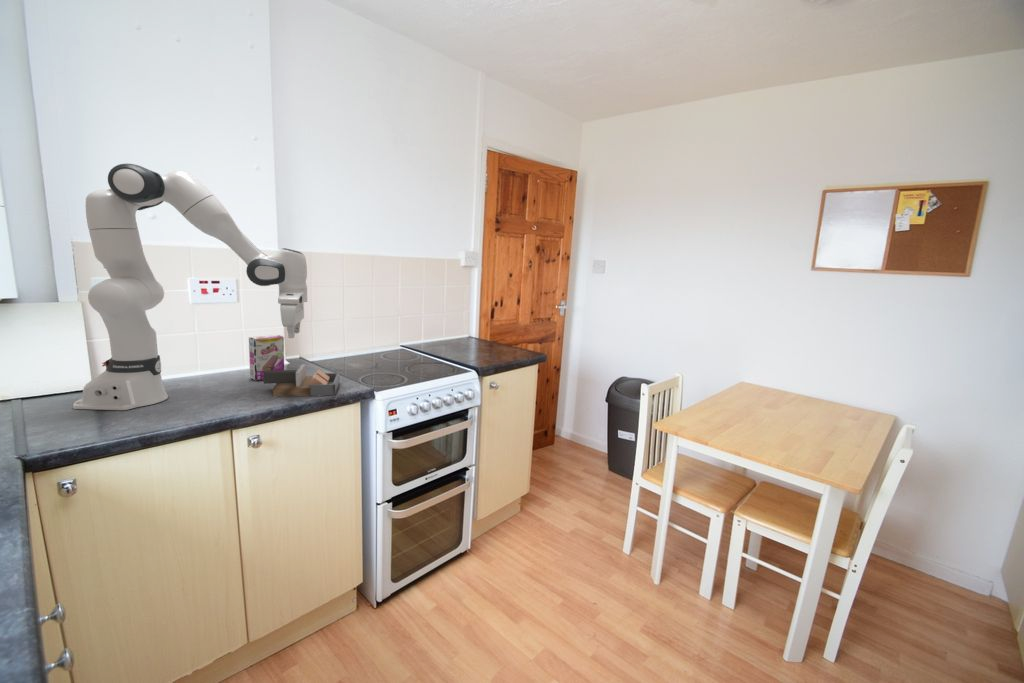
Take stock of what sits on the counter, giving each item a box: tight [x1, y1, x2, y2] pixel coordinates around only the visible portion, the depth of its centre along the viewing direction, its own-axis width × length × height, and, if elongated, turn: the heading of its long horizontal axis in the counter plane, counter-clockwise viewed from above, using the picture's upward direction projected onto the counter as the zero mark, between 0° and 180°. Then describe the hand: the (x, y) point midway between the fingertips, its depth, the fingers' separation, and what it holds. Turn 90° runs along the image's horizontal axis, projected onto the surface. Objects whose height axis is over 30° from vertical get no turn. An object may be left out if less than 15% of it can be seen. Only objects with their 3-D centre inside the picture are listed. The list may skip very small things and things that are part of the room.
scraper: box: [263, 363, 307, 387], centre depth 158 cm, size 12×12×5 cm
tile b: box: [312, 369, 330, 382], centre depth 165 cm, size 5×5×3 cm
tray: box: [310, 372, 341, 397], centre depth 163 cm, size 8×16×4 cm, turn 16°
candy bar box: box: [248, 334, 285, 382], centre depth 171 cm, size 11×5×16 cm, turn 144°
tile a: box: [309, 374, 328, 385], centre depth 159 cm, size 5×5×3 cm
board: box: [272, 375, 313, 398], centre depth 160 cm, size 12×15×3 cm
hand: (294, 335), depth 157 cm, fingers open, 8 cm apart
